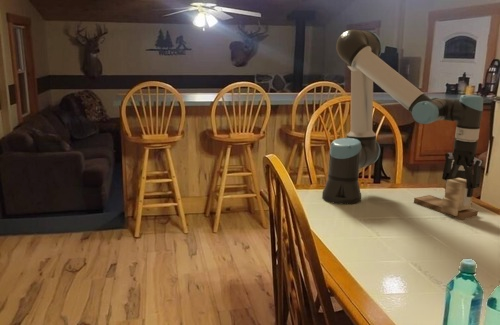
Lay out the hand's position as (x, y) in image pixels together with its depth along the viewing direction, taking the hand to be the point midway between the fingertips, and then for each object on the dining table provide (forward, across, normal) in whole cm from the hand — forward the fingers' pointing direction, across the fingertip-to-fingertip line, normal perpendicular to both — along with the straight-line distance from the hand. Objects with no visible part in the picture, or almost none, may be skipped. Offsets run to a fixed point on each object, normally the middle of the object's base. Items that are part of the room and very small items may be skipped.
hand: (457, 202), depth 170 cm
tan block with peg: (+4, 0, +1) cm, 4 cm away
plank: (+5, -6, +2) cm, 8 cm away
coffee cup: (+5, -13, +17) cm, 22 cm away
